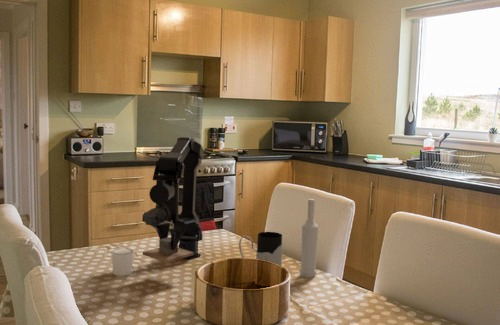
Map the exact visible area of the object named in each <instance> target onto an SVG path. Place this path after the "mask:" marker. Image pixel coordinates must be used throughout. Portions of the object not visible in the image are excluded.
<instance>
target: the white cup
mask: <svg viewBox="0 0 500 325" xmlns="http://www.w3.org/2000/svg"><path fill="white" fill-rule="evenodd" d="M110 253H111V255H110V256H111V264H112V265H111V266H112V273H113V275H115V276H118V277H119V276H120V277H121V276H127V275H128V276H129V275H130V274H132V269H133V260H134V250H133V249H131V248H116V249H114V250H111V252H110Z"/></svg>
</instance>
